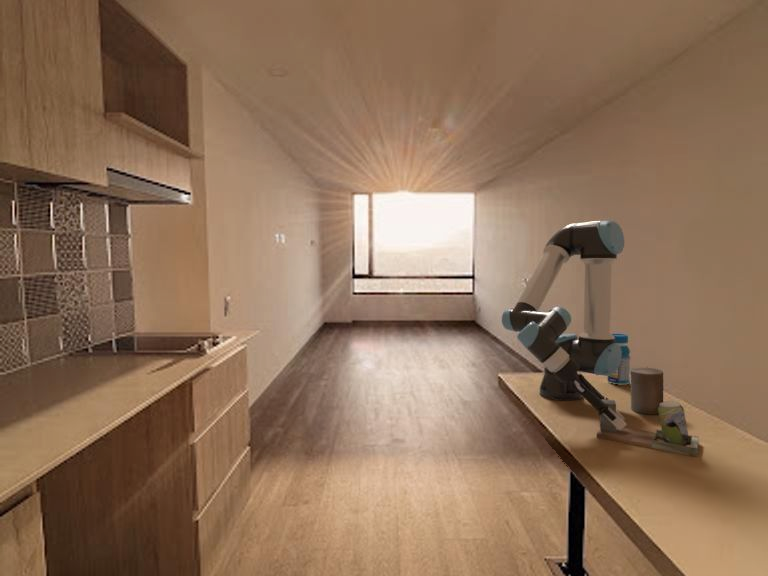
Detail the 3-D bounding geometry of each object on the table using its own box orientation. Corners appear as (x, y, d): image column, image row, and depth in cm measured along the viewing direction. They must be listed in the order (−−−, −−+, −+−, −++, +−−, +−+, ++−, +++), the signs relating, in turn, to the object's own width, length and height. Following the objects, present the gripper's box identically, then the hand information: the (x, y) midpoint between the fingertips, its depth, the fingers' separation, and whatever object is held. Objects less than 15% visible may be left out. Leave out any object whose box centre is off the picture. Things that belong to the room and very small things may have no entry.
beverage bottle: (629, 386, 183) (629, 337, 182) (606, 384, 187) (606, 335, 186) (630, 381, 190) (630, 333, 189) (608, 379, 195) (608, 332, 193)
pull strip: (602, 426, 141) (602, 396, 140) (698, 443, 126) (699, 409, 126) (594, 436, 133) (594, 404, 132) (696, 456, 118) (697, 420, 118)
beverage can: (693, 451, 122) (694, 407, 121) (663, 449, 123) (663, 406, 123) (683, 442, 128) (683, 399, 127) (654, 440, 130) (654, 399, 129)
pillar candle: (670, 412, 153) (670, 367, 152) (651, 417, 148) (651, 371, 148) (642, 404, 161) (642, 362, 161) (623, 409, 157) (623, 365, 156)
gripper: (552, 366, 148) (609, 422, 143) (551, 380, 132) (614, 443, 127) (570, 351, 146) (628, 407, 141) (571, 363, 130) (636, 426, 125)
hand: (622, 424), depth 134 cm, fingers closed on pull strip, 4 cm apart
